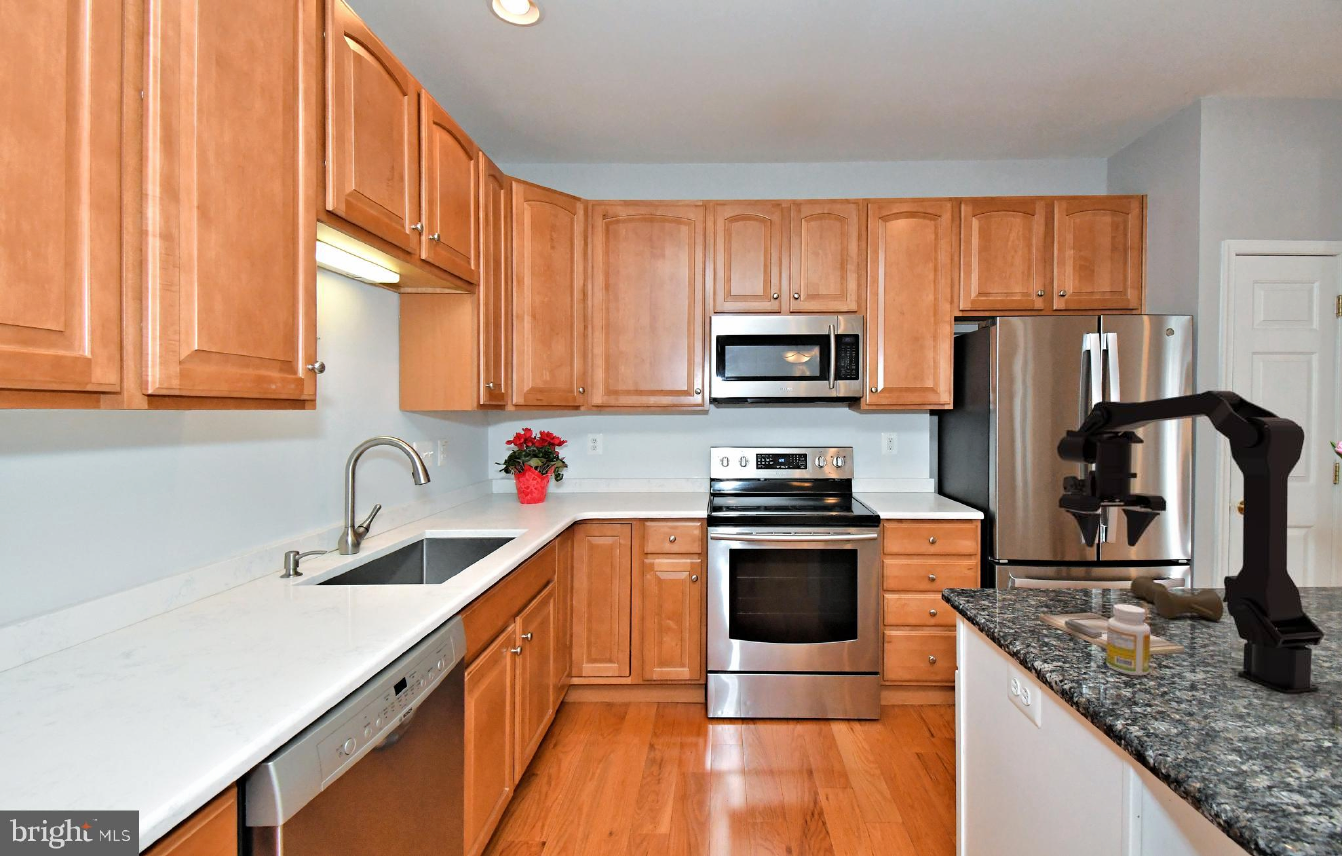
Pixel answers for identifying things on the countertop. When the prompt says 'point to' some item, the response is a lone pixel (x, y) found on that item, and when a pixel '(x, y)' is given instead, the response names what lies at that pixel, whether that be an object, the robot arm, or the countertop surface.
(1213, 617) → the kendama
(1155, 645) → the beige rectangular board
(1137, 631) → the supplement bottle
